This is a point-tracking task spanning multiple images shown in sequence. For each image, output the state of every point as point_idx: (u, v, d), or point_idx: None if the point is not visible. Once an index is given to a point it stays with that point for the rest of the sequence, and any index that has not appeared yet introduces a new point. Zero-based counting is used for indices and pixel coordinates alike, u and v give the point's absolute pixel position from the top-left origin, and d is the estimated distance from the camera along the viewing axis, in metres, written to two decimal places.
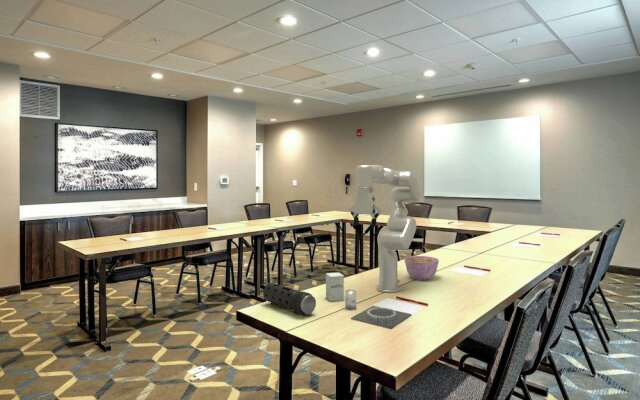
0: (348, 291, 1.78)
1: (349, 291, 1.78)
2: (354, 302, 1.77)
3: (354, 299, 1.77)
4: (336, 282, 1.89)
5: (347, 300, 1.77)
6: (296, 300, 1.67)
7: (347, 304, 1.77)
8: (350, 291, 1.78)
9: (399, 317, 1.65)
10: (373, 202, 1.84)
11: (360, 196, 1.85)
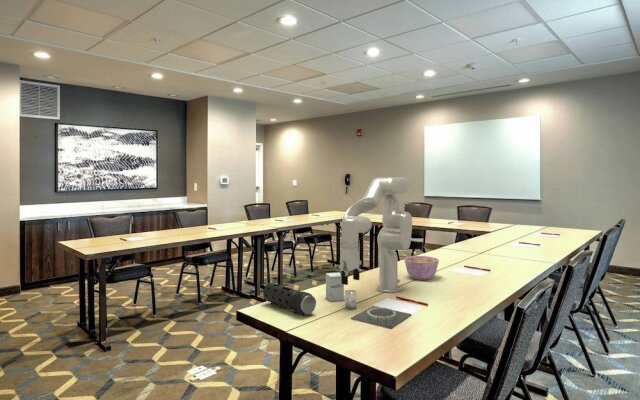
0: (348, 291, 1.78)
1: (349, 291, 1.78)
2: (354, 302, 1.77)
3: (354, 299, 1.77)
4: (336, 282, 1.89)
5: (347, 300, 1.77)
6: (296, 300, 1.67)
7: (347, 304, 1.77)
8: (350, 291, 1.78)
9: (399, 317, 1.65)
10: None
11: (354, 251, 1.76)
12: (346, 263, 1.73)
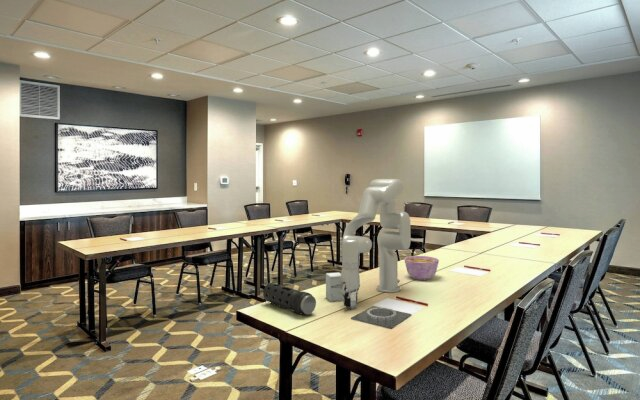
0: None
1: None
2: (354, 302, 1.77)
3: (354, 299, 1.77)
4: (336, 282, 1.89)
5: None
6: (296, 300, 1.67)
7: None
8: None
9: (399, 317, 1.65)
10: None
11: (354, 272, 1.76)
12: (346, 284, 1.74)
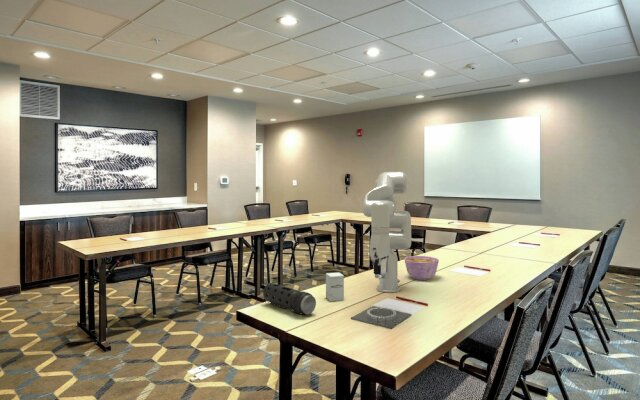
0: None
1: None
2: (384, 270, 1.64)
3: (384, 267, 1.64)
4: (336, 282, 1.89)
5: None
6: (296, 300, 1.67)
7: None
8: None
9: (399, 317, 1.65)
10: None
11: (384, 237, 1.63)
12: (377, 250, 1.61)
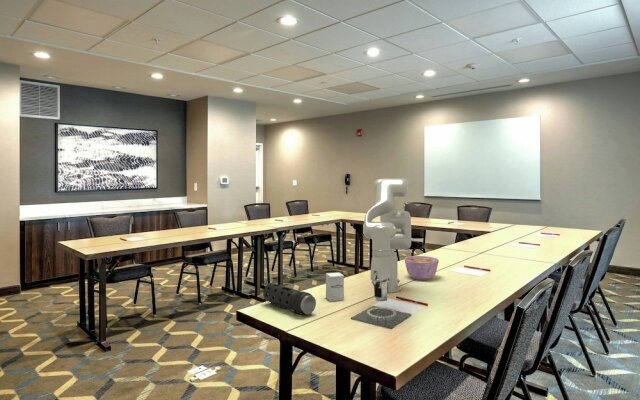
0: None
1: None
2: (385, 293, 1.65)
3: (385, 289, 1.65)
4: (336, 282, 1.89)
5: None
6: (296, 300, 1.67)
7: None
8: None
9: (399, 317, 1.65)
10: None
11: (385, 260, 1.64)
12: (377, 273, 1.61)
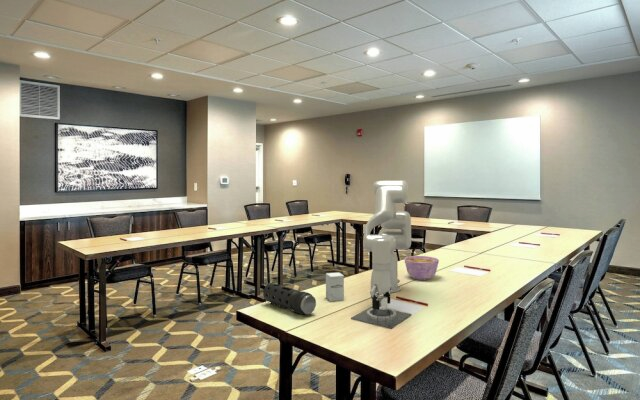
0: (379, 297, 1.67)
1: (380, 297, 1.67)
2: (385, 309, 1.65)
3: (385, 306, 1.65)
4: (336, 282, 1.89)
5: None
6: (296, 300, 1.68)
7: (378, 311, 1.65)
8: (381, 297, 1.67)
9: (399, 317, 1.65)
10: None
11: (385, 273, 1.64)
12: (378, 286, 1.62)
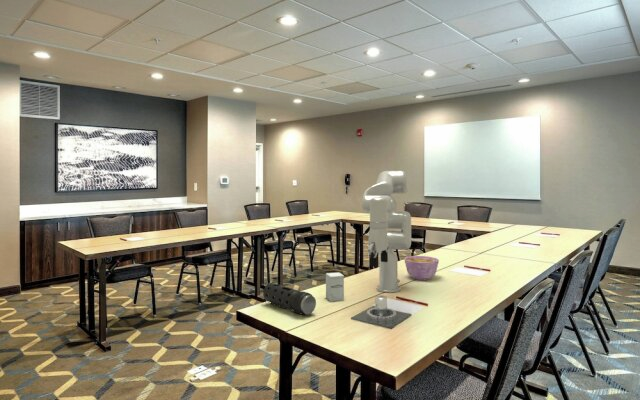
0: (378, 297, 1.67)
1: (379, 297, 1.67)
2: (385, 309, 1.65)
3: (385, 305, 1.65)
4: (336, 282, 1.89)
5: (377, 307, 1.65)
6: (296, 300, 1.68)
7: (378, 311, 1.65)
8: (380, 297, 1.67)
9: (399, 317, 1.65)
10: None
11: (383, 231, 1.67)
12: (375, 244, 1.65)
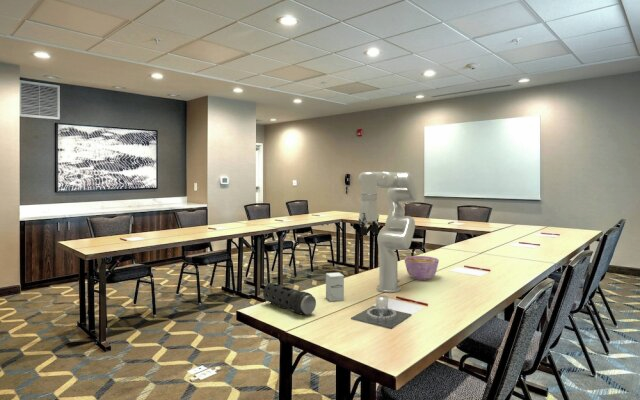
0: (379, 297, 1.67)
1: (380, 297, 1.67)
2: (385, 309, 1.65)
3: (385, 306, 1.65)
4: (336, 282, 1.89)
5: (378, 306, 1.65)
6: (296, 300, 1.67)
7: (378, 311, 1.66)
8: (382, 297, 1.66)
9: (399, 317, 1.65)
10: None
11: (372, 203, 1.82)
12: (365, 214, 1.80)
